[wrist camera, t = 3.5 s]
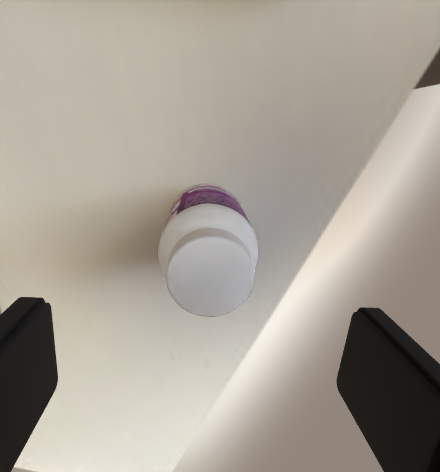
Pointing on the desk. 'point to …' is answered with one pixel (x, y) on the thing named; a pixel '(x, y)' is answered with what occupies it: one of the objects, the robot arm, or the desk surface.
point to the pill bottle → (208, 251)
